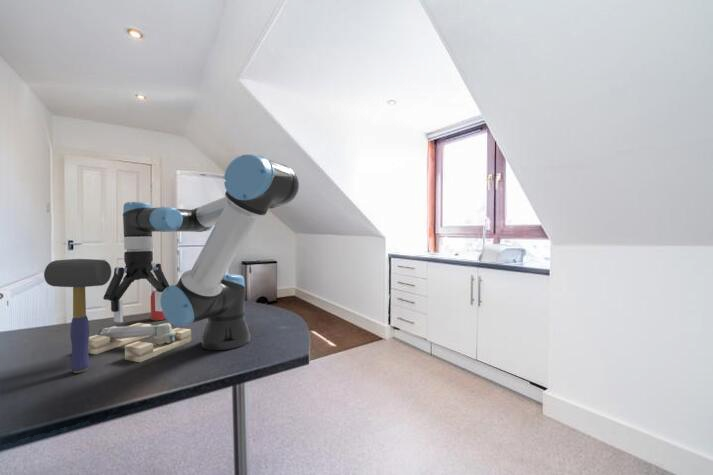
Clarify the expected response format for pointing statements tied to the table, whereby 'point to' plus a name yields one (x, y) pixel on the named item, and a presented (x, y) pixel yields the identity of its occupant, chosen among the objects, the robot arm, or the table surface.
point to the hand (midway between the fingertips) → (140, 316)
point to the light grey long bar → (141, 332)
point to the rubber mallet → (78, 299)
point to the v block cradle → (138, 344)
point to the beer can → (154, 314)
